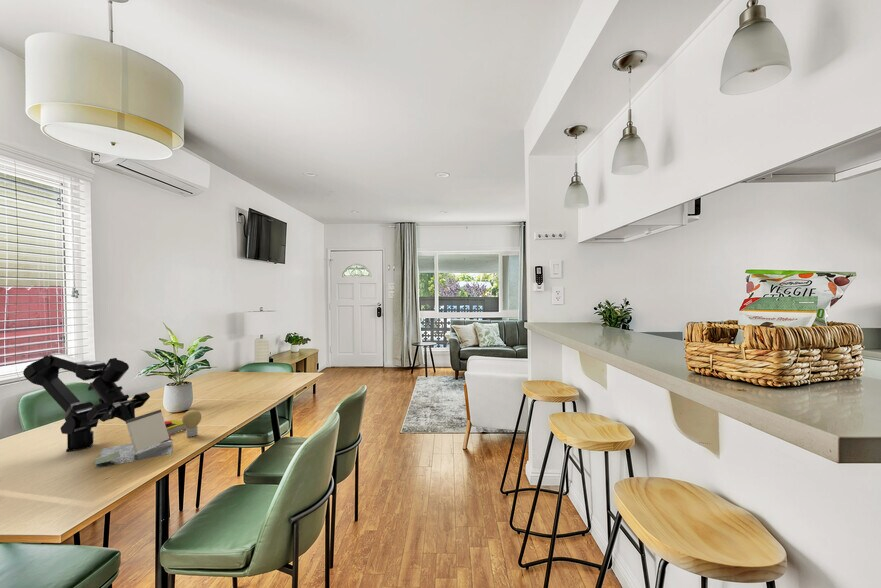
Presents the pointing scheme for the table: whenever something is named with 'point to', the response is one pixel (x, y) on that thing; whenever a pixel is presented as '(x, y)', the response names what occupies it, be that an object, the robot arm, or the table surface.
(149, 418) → the beige square plate
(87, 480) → the table surface
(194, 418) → the light bulb
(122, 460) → the panel
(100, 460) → the rocker
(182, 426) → the emergency button
